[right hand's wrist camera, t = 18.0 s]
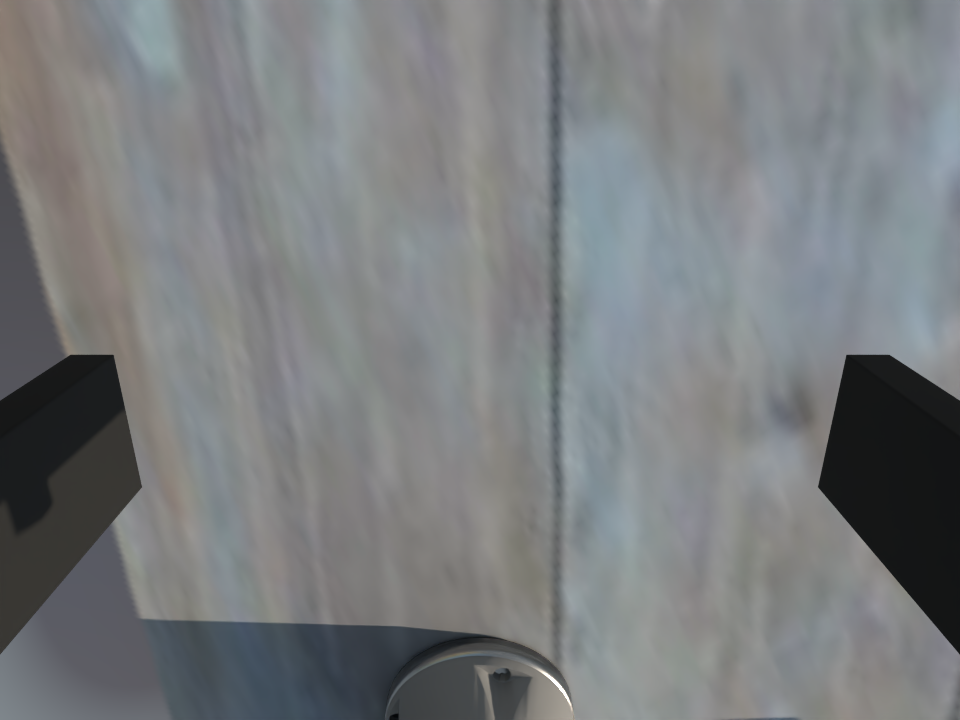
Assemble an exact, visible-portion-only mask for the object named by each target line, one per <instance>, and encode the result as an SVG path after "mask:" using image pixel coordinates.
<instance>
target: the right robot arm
mask: <svg viewBox="0 0 960 720" xmlns="http://www.w3.org/2000/svg"><path fill="white" fill-rule="evenodd" d="M141 488H142V485H141V481H140V476H139V471H138V467H137V462H136V457H135V453H134V448H133V443H132V439H131V434H130V430H129V425H128V420H127V416H126V411H125V406H124V402H123V397H122V392H121V388H120V383H119V378H118V374H117V369H116V364H115V360H114V355H70V356H68V357H67V358H65V359H64V360H62V361H60V362H59V363H57V364H56V365H54V366H53V367H51V368H50V369H48V370H47V371H45V372H44V373H42V374H41V375H39V376H37V377H36V378H34V379H33V380H31V381H30V382H28V383H27V384H25V385H24V386H22V387H21V388H19V389H17V390H16V391H14V392H13V393H11V394H10V395H8V396H7V397H5V398H4V399H2V400H1V401H0V654H1V653H2V652H3V650H4V649H5V648H6V647H7V646H8V645H9V643H10V642H11V641H12V640H13V639H14V637H15V636H16V635H17V634H18V633H19V632H20V630H21V629H22V628H23V627H24V626H25V624H26V623H27V622H28V621H29V620H30V618H31V617H32V616H33V615H34V614H35V613H36V611H37V610H38V609H39V608H40V607H41V606H42V604H43V603H44V602H45V601H46V600H47V599H48V597H49V596H50V595H51V594H52V593H53V591H54V590H55V589H56V588H57V587H58V586H59V584H60V583H61V582H62V581H63V580H64V578H65V577H66V576H67V575H68V574H69V573H70V571H71V570H72V569H73V568H74V567H75V565H76V564H77V563H78V562H79V561H80V560H81V558H82V557H83V556H84V555H85V554H86V553H87V551H88V550H89V549H90V548H91V547H92V545H93V544H94V543H95V542H96V541H97V540H98V538H99V537H100V536H101V535H102V534H103V532H104V531H105V530H106V529H107V528H108V527H109V525H110V524H111V523H112V522H113V521H114V519H115V518H116V517H117V516H118V515H119V514H120V512H121V511H122V510H123V509H124V508H125V506H126V505H127V504H128V503H129V502H130V501H131V499H132V498H133V497H134V496H135V495H136V494H137V492H138V491H139V490H140V489H141ZM818 488H819V489H820V490H821V491H822V492H823V494H824V495H825V496H826V497H827V498H828V499H829V501H830V502H831V503H832V504H833V505H834V506H835V508H836V509H837V510H838V511H839V512H840V514H841V515H842V516H843V517H844V518H845V519H846V521H847V522H848V523H849V524H850V525H851V527H852V528H853V529H854V530H855V531H856V532H857V534H858V535H859V536H860V537H861V538H862V540H863V541H864V542H865V543H866V544H867V545H868V547H869V548H870V549H871V550H872V551H873V553H874V554H875V555H876V556H877V557H878V558H879V560H880V561H881V562H882V563H883V564H884V565H885V567H886V568H887V569H888V570H889V571H890V573H891V574H892V575H893V576H894V577H895V578H896V580H897V581H898V582H899V583H900V584H901V586H902V587H903V588H904V589H905V590H906V591H907V593H908V594H909V595H910V596H911V597H912V599H913V600H914V601H915V602H916V603H917V604H918V606H919V607H920V608H921V609H922V610H923V611H924V613H925V614H926V615H927V616H928V617H929V619H930V620H931V621H932V622H933V623H934V624H935V626H936V627H937V628H938V629H939V630H940V632H941V633H942V634H943V635H944V636H945V637H946V639H947V640H948V641H949V642H950V643H951V645H952V646H953V647H954V648H955V649H956V650H957V652H958V653H959V654H960V401H959V400H958V399H956V398H955V397H953V396H952V395H950V394H949V393H947V392H946V391H944V390H943V389H941V388H939V387H938V386H936V385H935V384H933V383H932V382H930V381H929V380H927V379H926V378H924V377H923V376H921V375H919V374H918V373H916V372H915V371H913V370H912V369H910V368H909V367H907V366H906V365H904V364H903V363H901V362H900V361H898V360H896V359H895V358H893V357H892V356H890V355H846V360H845V364H844V369H843V374H842V378H841V383H840V388H839V392H838V397H837V402H836V406H835V411H834V416H833V420H832V425H831V430H830V434H829V439H828V443H827V448H826V453H825V457H824V462H823V467H822V471H821V476H820V481H819V485H818ZM385 720H574V713H573V706H572V700H571V694H570V691H569V688H568V685H567V683H566V681H565V679H564V678H563V676H562V674H561V673H560V672H559V671H558V669H557V668H556V667H555V666H554V665H553V664H552V663H551V662H550V661H548V660H547V659H546V658H545V657H543V656H542V655H540V654H539V653H537V652H535V651H533V650H531V649H529V648H527V647H525V646H522V645H520V644H517V643H514V642H510V641H506V640H500V639H493V638H466V639H458V640H454V641H449V642H446V643H442V644H439V645H437V646H434V647H432V648H430V649H428V650H426V651H424V652H422V653H421V654H419V655H417V656H416V657H415V658H413V659H412V660H411V661H409V662H408V663H407V664H406V665H405V666H404V667H403V668H402V670H401V671H400V672H399V673H398V675H397V676H396V678H395V679H394V681H393V683H392V685H391V688H390V691H389V695H388V700H387V706H386V713H385Z"/></svg>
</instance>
